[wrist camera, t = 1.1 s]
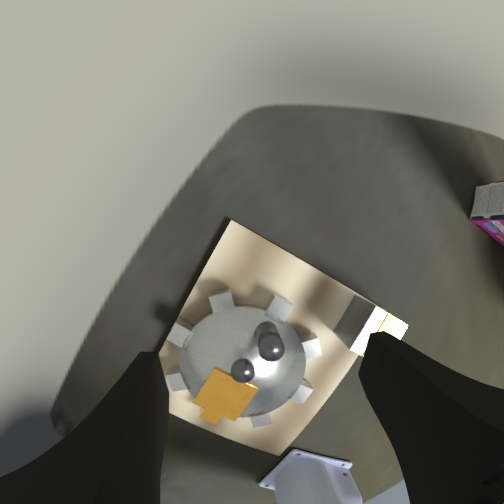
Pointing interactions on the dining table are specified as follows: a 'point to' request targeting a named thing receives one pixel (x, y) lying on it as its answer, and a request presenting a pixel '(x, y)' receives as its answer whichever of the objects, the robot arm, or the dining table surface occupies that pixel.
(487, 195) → the candy bar box
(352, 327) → the link block
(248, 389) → the sprocket
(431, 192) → the dining table surface
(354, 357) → the base board
